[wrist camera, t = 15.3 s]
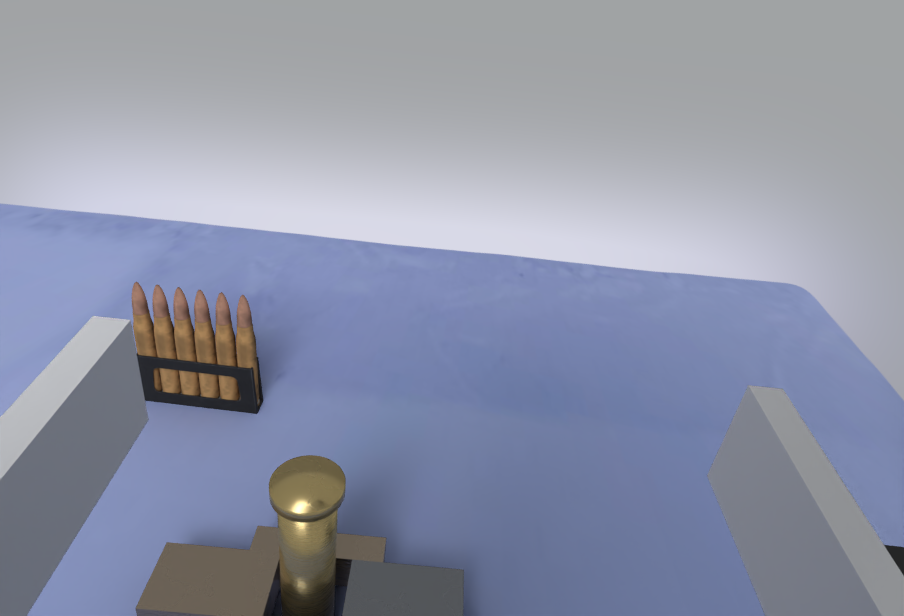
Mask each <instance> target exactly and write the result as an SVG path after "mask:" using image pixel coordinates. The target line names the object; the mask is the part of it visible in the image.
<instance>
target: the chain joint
mask: <svg viewBox="0 0 904 616" xmlns="http://www.w3.org/2000/svg"><path fill="white" fill-rule="evenodd" d="M385 547H386V538H383V537H372V536H361V535H351V534H340V533H337V542H336V574H335V585H338V586H347V591H346V597H345V602H344V608H343V613H342V616H463V581H464V570H461V569H450V568H439V567H428V566H418V565H407V564H396V563H385V562H384V558H385ZM280 586H281V583H280V559H279V535H278V528H276V527H265V526H258V527H257V530H256V533H255V536H254V539H253V541H252V544H251V547H250V550H244V549H233V548H222V547H212V546H201V545H190V544H179V543H168V542H167V543H166V545H165V547H164V550H163V552H162V554H161V556H160V558H159V560H158V562H157V564H156V566H155V569H154V571H153V573H152V575H151V577H150V579H149V581H148V583H147V585H146V587H145V590H144V592H143V594H142V596H141V598H140V600H139V602H138V604H137V606H136V613H137V616H272V615H273V611H274V608H275V604H276V601H277V597H278V593H279V590H280Z"/></svg>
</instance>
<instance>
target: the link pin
mask: <svg viewBox="0 0 904 616" xmlns="http://www.w3.org/2000/svg"><path fill="white" fill-rule="evenodd" d="M269 497H270V503H271V505H272V507H273V509H274V510H275V511H276V512H277V513H278V535H279V559H280V583H281V607H282V616H334V606H335V574H336V542H337V510H338V508H339V507H340V505H341V504H342V502H343V500H344V497H345V475H344V473H343V471H342V469H341V468H340V467H339V466H338V465H337V464H336V463H335V462H333V461H331V460H329V459H327V458H324V457H320V456H312V455H308V456H300V457H296V458H293V459H290V460H288V461H286V462H285V463H283V464H282V465H280V466H279V467H278V468H277V469H276V470H275V471H274V473H273V474H272V476H271V478H270V482H269Z"/></svg>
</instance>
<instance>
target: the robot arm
mask: <svg viewBox="0 0 904 616" xmlns="http://www.w3.org/2000/svg"><path fill="white" fill-rule="evenodd" d="M147 421H148V415H147V409H146V404H145V398H144V392H143V387H142V381H141V376H140V370H139V365H138V359H137V353H136V348H135V342H134V337H133V331H132V326H131V320H125V319H116V318H106V317H97V316H93V317H92V318H91V319H90V320H89V321H88V322H87V323H86V324H85V325H84V326H83V328H82V329H81V330H80V331H79V332H78V333H77V334H76V335H75V336H74V337H73V338H72V340H71V341H70V342H69V343H68V344H67V345H66V346H65V347H64V348H63V349H62V350H61V352H60V353H59V354H58V355H57V356H56V357H55V358H54V359H53V360H52V361H51V362H50V364H49V365H48V366H47V367H46V368H45V369H44V370H43V371H42V372H41V373H40V375H39V376H38V377H37V378H36V379H35V380H34V381H33V382H32V383H31V384H30V385H29V387H28V388H27V389H26V390H25V391H24V392H23V393H22V394H21V395H20V396H19V397H18V399H17V400H16V401H15V402H14V403H13V404H12V405H11V406H10V407H9V408H8V410H7V411H6V412H5V413H4V414H3V415H2V416H1V417H0V616H27V614H28V613H29V611H30V609H31V608H32V606H33V605H34V603H35V601H36V600H37V598H38V597H39V595H40V593H41V592H42V590H43V588H44V587H45V585H46V584H47V582H48V580H49V579H50V577H51V576H52V574H53V572H54V571H55V569H56V568H57V566H58V564H59V563H60V561H61V560H62V558H63V556H64V555H65V553H66V552H67V550H68V548H69V547H70V545H71V544H72V542H73V540H74V539H75V537H76V535H77V534H78V532H79V531H80V529H81V527H82V526H83V524H84V523H85V521H86V519H87V518H88V516H89V515H90V513H91V511H92V510H93V508H94V507H95V505H96V503H97V502H98V500H99V499H100V497H101V495H102V494H103V492H104V491H105V489H106V487H107V486H108V484H109V482H110V481H111V479H112V478H113V476H114V474H115V473H116V471H117V470H118V468H119V466H120V465H121V463H122V462H123V460H124V458H125V457H126V455H127V454H128V452H129V450H130V449H131V447H132V446H133V444H134V442H135V441H136V439H137V438H138V436H139V434H140V433H141V431H142V429H143V428H144V426H145V425H146V423H147ZM707 477H708V479H709V481H710V484H711V486H712V489H713V491H714V493H715V496H716V498H717V501H718V503H719V505H720V508H721V510H722V513H723V515H724V517H725V520H726V522H727V525H728V527H729V529H730V532H731V534H732V537H733V539H734V541H735V544H736V546H737V549H738V551H739V553H740V556H741V558H742V561H743V563H744V565H745V568H746V570H747V573H748V575H749V577H750V580H751V582H752V585H753V587H754V589H755V592H756V594H757V597H758V599H759V601H760V604H761V606H762V609H763V611H764V613H765V616H904V547H898V546H888V545H883V543H882V542H881V540H880V538H879V537H878V535H877V534H876V532H875V531H874V529H873V528H872V526H871V525H870V523H869V521H868V520H867V518H866V517H865V515H864V514H863V512H862V511H861V509H860V508H859V506H858V504H857V503H856V501H855V500H854V498H853V497H852V495H851V494H850V492H849V491H848V489H847V487H846V486H845V484H844V483H843V481H842V480H841V478H840V477H839V475H838V474H837V472H836V470H835V469H834V467H833V466H832V464H831V463H830V461H829V460H828V458H827V457H826V455H825V453H824V452H823V450H822V449H821V447H820V446H819V444H818V443H817V441H816V440H815V438H814V436H813V435H812V433H811V432H810V430H809V429H808V427H807V426H806V424H805V423H804V421H803V419H802V418H801V416H800V415H799V413H798V412H797V410H796V409H795V407H794V406H793V404H792V402H791V401H790V399H789V398H788V396H787V395H786V393H785V392H784V390H783V389H778V388H768V387H759V386H749V385H748V387H747V389H746V391H745V394H744V396H743V398H742V400H741V402H740V405H739V407H738V409H737V411H736V413H735V416H734V418H733V420H732V422H731V424H730V427H729V429H728V431H727V433H726V435H725V438H724V440H723V442H722V444H721V446H720V449H719V451H718V453H717V455H716V457H715V459H714V462H713V464H712V466H711V468H710V470H709V473H708V475H707Z"/></svg>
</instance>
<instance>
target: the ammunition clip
mask: <svg viewBox="0 0 904 616" xmlns="http://www.w3.org/2000/svg"><path fill="white" fill-rule="evenodd" d="M132 307H133V318H134V322H133V329H134V335H135V341H136V347H137V359H138V365H139V370H140V376H141V381H142V387H143V392H144V398H145V400H146V401H154V402H162V403H171V404H179V405H187V406H196V407H204V408H213V409H221V410H229V411H238V412H246V413H254V414H257V413H258V411H259V409H260V407H261V404H262V402H263V395H262V387H261V378H260V370H259V361H258V357H257V353H256V339H255V335H254V332H253V324H252V317H251V311H250V307H249V304H248V301H247V299H246V298H245V296H244V295H242V296H241V297H240V300H239V303H238V308H237V335H236V342H235V334H234V331H233V328H232V321H231V315H230V309H229V305H228V302H227V300H226V297H225V296H224V294H223V293H222V292H221V293H220V294H219V296H218V299H217V303H216V334H215V335H214V331H213V328H212V324H211V318H210V313H209V308H208V304H207V301H206V298H205V296H204V294H203V292H202V291H201V290H198V292H197V294H196V298H195V306H194V313H195V332H194V329H193V326H192V323H191V318H190V314H189V308H188V304H187V300H186V298H185V295H184V293H183V291H182V290H181V288H179V287H178V288H177V289H176V291H175V296H174V322H175V327H173V324H172V321H171V318H170V313H169V309H168V304H167V300H166V297H165V295H164V292H163V290H162V289H161V287H160V286H159V285H156V286H155V289H154V293H153V312H154V325H153V322H152V320H151V317H150V313H149V310H148V304H147V300H146V297H145V294H144V292H143V290H142V288H141V286H140V285H139V283H138V282H135V283H134V286H133V290H132ZM215 343H216V344H215ZM236 350H237V354H236ZM237 365H238V366H237Z"/></svg>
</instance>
